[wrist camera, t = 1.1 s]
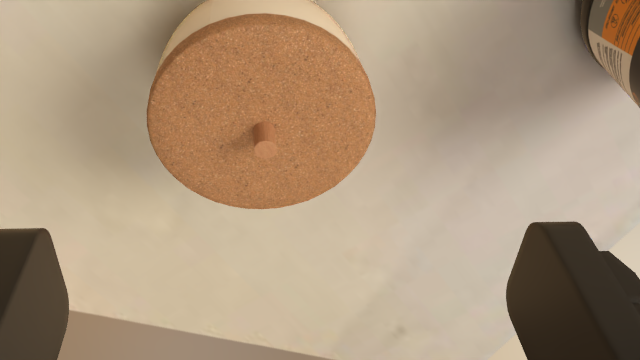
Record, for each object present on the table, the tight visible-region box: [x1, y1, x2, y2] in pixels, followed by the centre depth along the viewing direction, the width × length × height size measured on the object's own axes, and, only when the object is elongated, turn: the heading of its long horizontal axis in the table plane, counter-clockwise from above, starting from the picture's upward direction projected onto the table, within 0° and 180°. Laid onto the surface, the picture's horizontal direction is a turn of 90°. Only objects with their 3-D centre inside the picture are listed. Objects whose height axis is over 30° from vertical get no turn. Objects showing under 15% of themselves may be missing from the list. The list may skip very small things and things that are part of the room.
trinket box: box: [147, 0, 376, 209], centre depth 31 cm, size 11×11×9 cm
